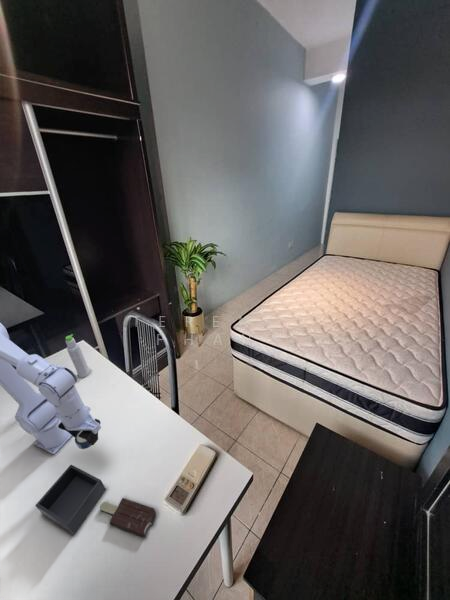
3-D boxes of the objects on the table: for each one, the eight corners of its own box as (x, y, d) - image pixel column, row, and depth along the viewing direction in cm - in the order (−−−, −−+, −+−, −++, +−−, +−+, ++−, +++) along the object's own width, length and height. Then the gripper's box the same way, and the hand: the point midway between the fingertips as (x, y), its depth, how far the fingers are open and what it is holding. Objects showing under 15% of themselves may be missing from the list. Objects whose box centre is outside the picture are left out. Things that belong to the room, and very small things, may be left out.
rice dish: (73, 447, 71) (69, 440, 70) (89, 429, 76) (85, 423, 74) (87, 453, 70) (84, 447, 68) (103, 435, 74) (99, 429, 73)
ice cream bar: (94, 519, 62) (147, 538, 58) (92, 516, 61) (146, 535, 58) (108, 495, 66) (158, 511, 63) (106, 492, 66) (157, 508, 62)
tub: (43, 514, 63) (35, 505, 61) (76, 473, 72) (70, 464, 69) (74, 535, 59) (66, 526, 57) (106, 489, 68) (100, 479, 65)
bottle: (91, 373, 107) (76, 336, 97) (81, 379, 104) (64, 341, 94) (87, 368, 110) (72, 332, 100) (77, 374, 107) (60, 337, 97)
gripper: (103, 403, 66) (116, 434, 73) (64, 389, 71) (80, 419, 78) (81, 426, 61) (97, 457, 67) (41, 409, 65) (60, 440, 72)
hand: (87, 438), depth 72 cm, fingers closed on rice dish, 5 cm apart
